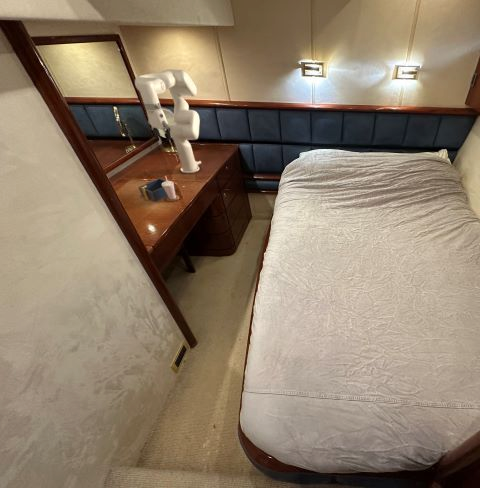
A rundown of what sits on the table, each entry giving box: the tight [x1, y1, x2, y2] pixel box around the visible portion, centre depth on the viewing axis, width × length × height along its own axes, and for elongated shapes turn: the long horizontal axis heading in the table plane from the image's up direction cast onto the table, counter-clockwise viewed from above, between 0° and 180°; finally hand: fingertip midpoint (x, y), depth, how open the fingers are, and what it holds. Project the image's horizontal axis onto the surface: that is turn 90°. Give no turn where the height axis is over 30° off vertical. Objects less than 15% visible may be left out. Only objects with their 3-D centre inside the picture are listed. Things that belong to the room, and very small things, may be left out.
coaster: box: [165, 194, 180, 203], centre depth 161 cm, size 8×8×1 cm
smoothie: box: [162, 175, 177, 199], centre depth 156 cm, size 6×6×14 cm
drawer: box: [137, 178, 177, 202], centre depth 161 cm, size 16×12×8 cm
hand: (163, 138), depth 155 cm, fingers open, 9 cm apart
